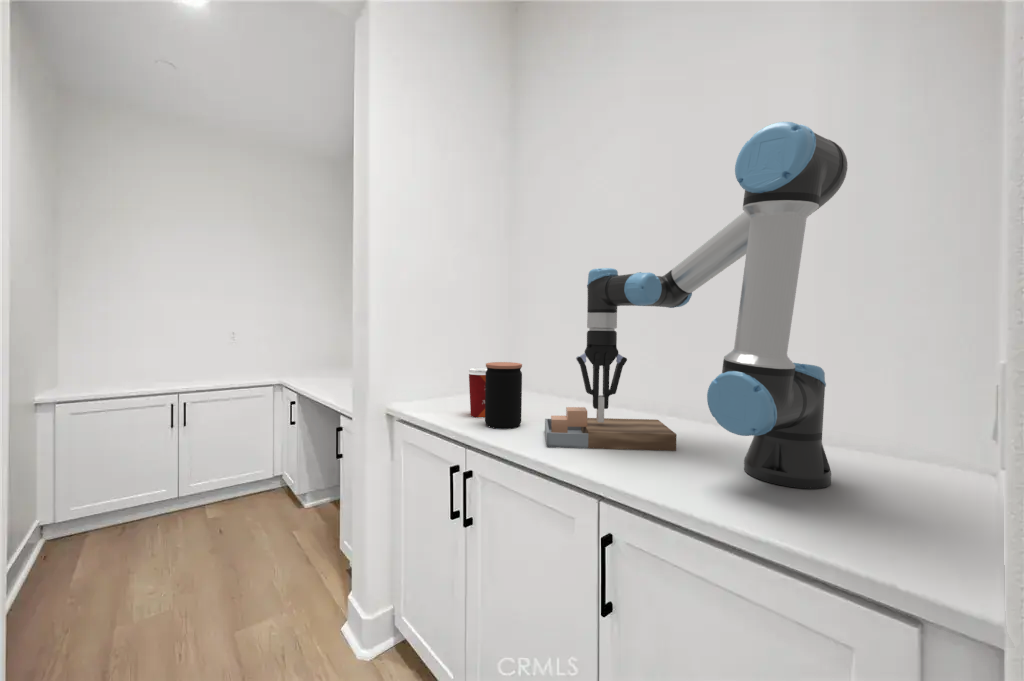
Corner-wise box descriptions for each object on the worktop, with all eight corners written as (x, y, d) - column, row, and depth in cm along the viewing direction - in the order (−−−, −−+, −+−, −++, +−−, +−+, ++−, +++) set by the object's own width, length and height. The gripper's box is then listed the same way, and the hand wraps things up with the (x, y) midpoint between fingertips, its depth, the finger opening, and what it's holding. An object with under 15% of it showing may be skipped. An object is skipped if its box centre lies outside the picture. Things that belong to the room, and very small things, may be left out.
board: (676, 450, 109) (676, 434, 109) (588, 448, 110) (588, 432, 110) (657, 433, 125) (657, 419, 125) (580, 432, 126) (581, 417, 126)
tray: (588, 448, 110) (588, 434, 110) (546, 447, 111) (547, 433, 110) (580, 432, 126) (581, 419, 126) (544, 431, 126) (544, 418, 126)
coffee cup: (492, 418, 141) (493, 370, 140) (465, 418, 141) (466, 370, 140) (493, 413, 149) (494, 367, 149) (468, 412, 150) (469, 367, 149)
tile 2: (587, 426, 115) (587, 411, 115) (567, 426, 116) (567, 410, 115) (585, 422, 120) (585, 407, 120) (566, 422, 121) (566, 407, 120)
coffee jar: (522, 421, 138) (523, 362, 137) (519, 430, 127) (520, 366, 126) (487, 420, 139) (488, 361, 138) (481, 428, 128) (482, 365, 127)
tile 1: (567, 419, 115) (551, 419, 116) (567, 439, 116) (551, 439, 116) (566, 415, 120) (551, 415, 121) (566, 434, 121) (551, 434, 121)
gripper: (624, 329, 120) (622, 418, 121) (574, 329, 120) (573, 417, 121) (630, 330, 112) (629, 424, 113) (578, 329, 113) (576, 424, 114)
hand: (600, 421), depth 117 cm, fingers closed
